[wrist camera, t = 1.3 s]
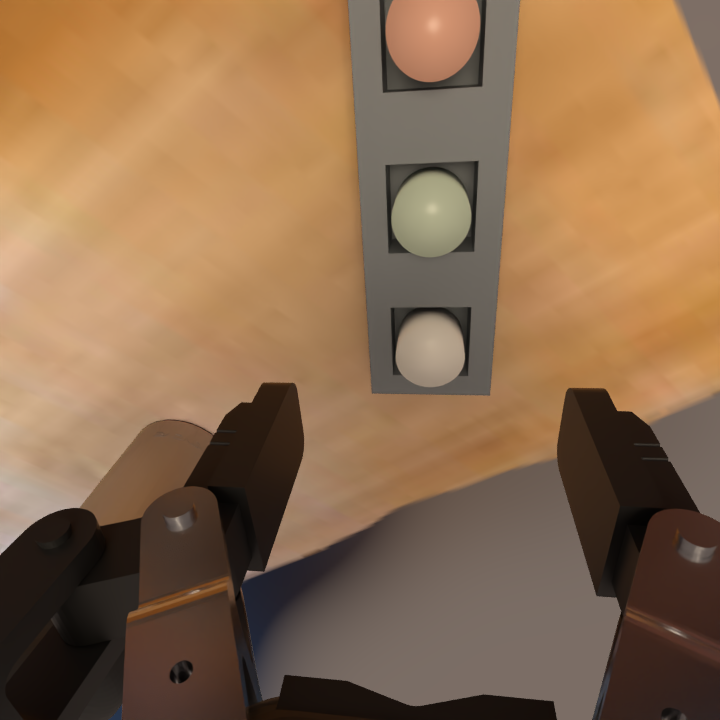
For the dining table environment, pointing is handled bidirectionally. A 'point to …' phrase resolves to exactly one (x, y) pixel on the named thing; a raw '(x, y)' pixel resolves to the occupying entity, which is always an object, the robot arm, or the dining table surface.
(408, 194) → the sage button
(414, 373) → the cream button
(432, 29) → the terracotta button
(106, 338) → the dining table surface
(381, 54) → the button panel
